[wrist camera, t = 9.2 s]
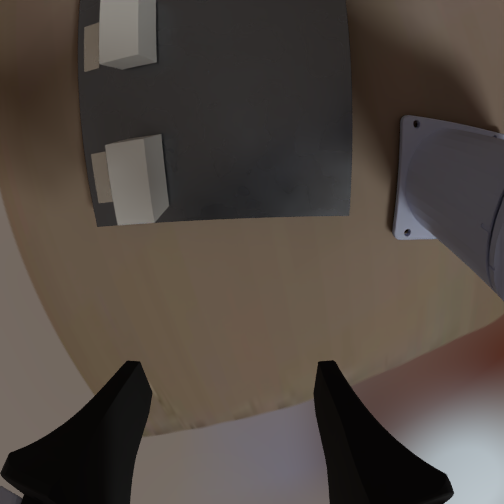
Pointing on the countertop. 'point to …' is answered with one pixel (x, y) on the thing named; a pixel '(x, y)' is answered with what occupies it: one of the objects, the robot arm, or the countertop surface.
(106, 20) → the block
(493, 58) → the countertop surface
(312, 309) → the countertop surface
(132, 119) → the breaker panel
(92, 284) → the countertop surface
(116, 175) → the block
